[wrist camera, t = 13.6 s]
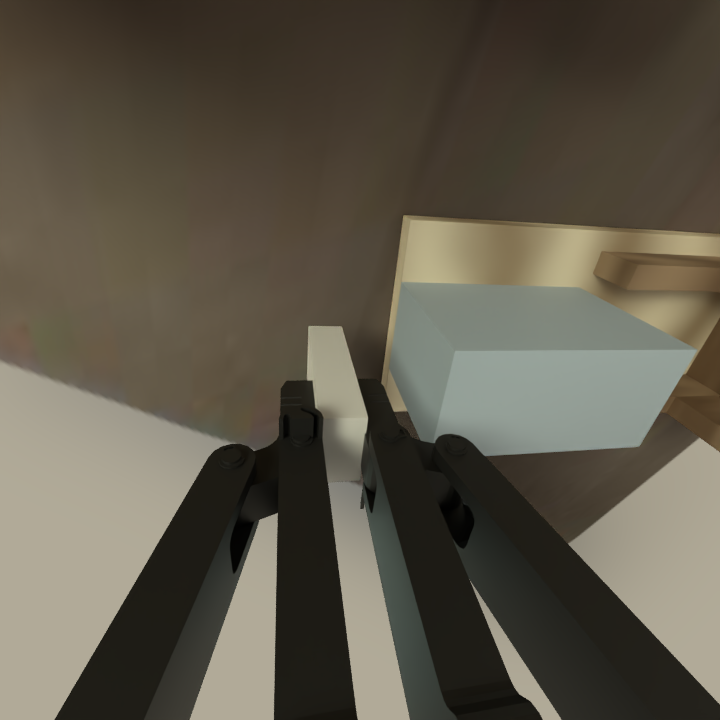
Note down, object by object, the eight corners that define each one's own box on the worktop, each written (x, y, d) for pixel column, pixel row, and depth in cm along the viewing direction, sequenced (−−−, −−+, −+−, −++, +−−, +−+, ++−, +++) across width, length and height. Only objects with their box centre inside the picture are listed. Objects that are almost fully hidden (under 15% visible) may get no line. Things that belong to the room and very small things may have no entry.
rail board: (379, 400, 24) (432, 552, 15) (403, 215, 18) (509, 288, 10) (671, 390, 28) (845, 506, 19) (763, 236, 22) (1064, 301, 14)
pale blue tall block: (388, 368, 21) (428, 459, 15) (401, 281, 19) (455, 351, 13) (548, 366, 23) (639, 446, 17) (579, 287, 21) (697, 349, 15)
